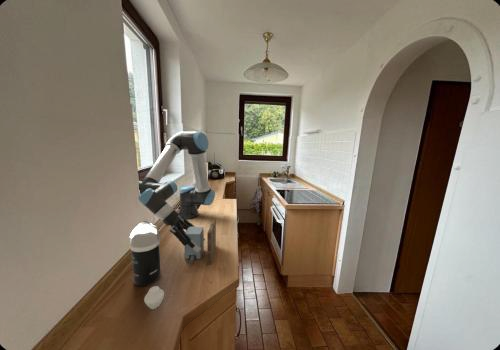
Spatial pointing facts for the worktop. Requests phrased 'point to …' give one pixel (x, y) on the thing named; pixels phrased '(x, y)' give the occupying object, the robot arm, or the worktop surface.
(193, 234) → the mini cabinet
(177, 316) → the worktop surface
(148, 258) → the black white bottle
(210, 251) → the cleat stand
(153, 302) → the white rock
